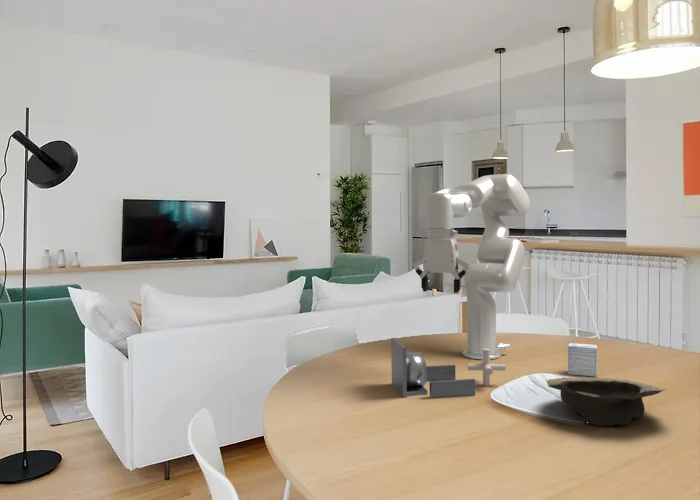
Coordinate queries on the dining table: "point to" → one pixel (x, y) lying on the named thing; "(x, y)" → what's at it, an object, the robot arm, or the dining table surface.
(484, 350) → the pipe connector
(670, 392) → the dining table surface
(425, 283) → the robot arm
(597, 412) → the stone bowl
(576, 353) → the medicine box
